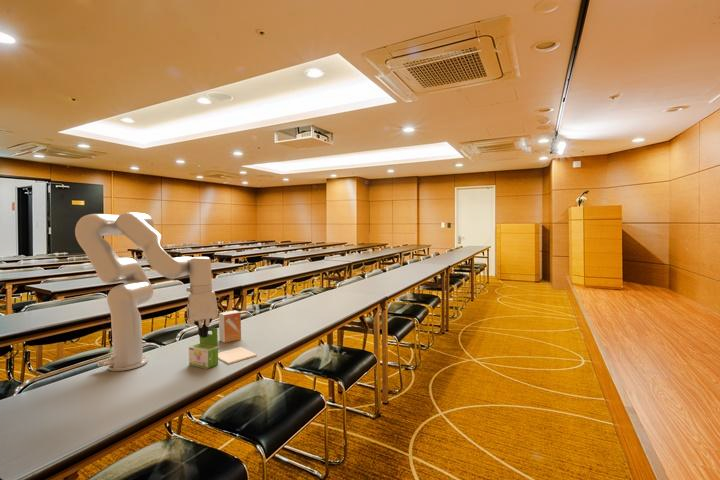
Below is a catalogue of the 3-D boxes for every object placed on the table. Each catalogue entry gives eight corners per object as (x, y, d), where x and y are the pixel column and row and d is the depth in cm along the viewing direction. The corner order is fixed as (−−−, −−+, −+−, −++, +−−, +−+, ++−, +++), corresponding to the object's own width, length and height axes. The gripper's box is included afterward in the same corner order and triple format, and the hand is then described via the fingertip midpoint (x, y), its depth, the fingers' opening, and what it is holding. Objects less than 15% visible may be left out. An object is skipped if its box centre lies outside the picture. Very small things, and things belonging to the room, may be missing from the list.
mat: (228, 364, 134) (228, 362, 134) (213, 355, 144) (213, 354, 144) (256, 355, 143) (256, 354, 143) (240, 348, 153) (240, 346, 152)
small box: (224, 343, 160) (223, 315, 159) (219, 340, 164) (218, 312, 164) (241, 339, 165) (240, 311, 165) (235, 336, 170) (235, 309, 170)
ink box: (188, 365, 134) (187, 328, 134) (199, 360, 139) (199, 325, 139) (207, 369, 130) (206, 331, 130) (219, 364, 135) (218, 328, 134)
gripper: (184, 293, 126) (186, 343, 126) (224, 287, 136) (226, 334, 137) (177, 291, 131) (179, 339, 132) (216, 285, 142) (218, 330, 142)
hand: (203, 336), depth 134 cm, fingers closed
